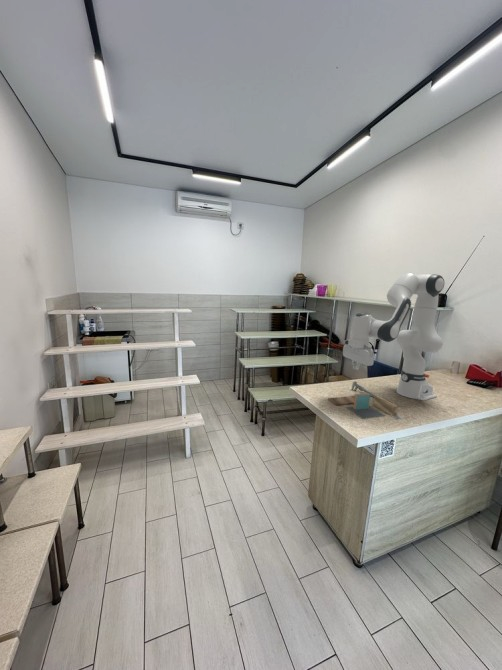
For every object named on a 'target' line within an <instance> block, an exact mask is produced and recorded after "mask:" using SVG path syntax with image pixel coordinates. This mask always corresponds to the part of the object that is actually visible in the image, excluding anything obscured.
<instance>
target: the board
mask: <svg viewBox="0 0 502 670" xmlns="http://www.w3.org/2000/svg"><path fill="white" fill-rule="evenodd" d="M354 399H355V395H348V396H337V397H335V396H334V397H328V398H327V400H328V401H329V402H330V403H332V404H333V405H335V407H338V406H347V405H354Z"/></svg>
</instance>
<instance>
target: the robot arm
mask: <svg viewBox="0 0 502 670" xmlns="http://www.w3.org/2000/svg"><path fill="white" fill-rule="evenodd" d="M444 287H445V279H444V278H443V276H442V275H440V274H436V273H435V274H431V273H430V274H427V273H422V274H421V273H420V274H415V273H411V272H407V273H404V274H403V275H401V276H400V277H399V278H397V280H395V282H394V283H393V284H392V286H391V287H390V289H389V290H388V292H387V294H386V299H387V302H388V303H389V304H390V305H391V306H392V307H394V308H395V310H394V312H393V314H392V316H391V318H390V319H389V320H379V319H376V318H374V317H373V316H372V315H371V313H369V312H358V313H356V314H355V315H354V317H353V320H352V326H351V336H350V338H349V339H344V341H343V344H344V345H343V347H342V355H343V357H344V358H346V359H349V360H351V364H352V369H354V370H356V371H359V370H360V367H361V366H362V365H364V366H367V367H369V366H370V367H371V366H373V365H374V362H375V360H374V359H375V353H374V349H373V348H372V347H371V346H369V342H370V338H372V339H376V340H380V341H384V342H385V343H389V342H390V343H391V342H392V341H394V340H395V339H396V342H397V344H398V345H399V346H400V348H401V350H402V354H403V362H402V363H403V365H402V369H401V371H400V377H399V380H398V384H397V386H396V388H395V389H396V391H395V392H396V393H397V394H398V395H400V396H403V397H405V398H410V399H414V400H418V401H427V400H431V399H434V398H437V397H438V395H437V394H436V393H435V392H434V391H433V390H434V387H433V385H432V384H430V383H429V381H427V380H426V378H428V379H429V378H430V375H429V374H428V373H425V370H426V365H427V362H426V359H425V358H424V357H423V356H422V355H421V352H424V353H434V354H435V353H438V352H439V351H440V350H441V349H442V348H443V342H444V341H443V339H442V337H441V336H439V334H438V332H437V329H436V324H435V323H436V316H437V311H438V307H439V294H440V293H441V292H442V290H443V289H444ZM413 295H417V298H416V300H415V303H414V307H413V311H412V317H411V320H412V323H414V324H415V326H416V329H417V330H414V329H402V330H401V327H402V326H403V323H404V321H405V319H406V317H407V316H408V313H409V312H410V310H411V307H412V300H411V298H412V296H413ZM420 351H421V352H420Z"/></svg>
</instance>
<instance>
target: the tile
mask: <svg viewBox="0 0 502 670" xmlns="http://www.w3.org/2000/svg"><path fill="white" fill-rule="evenodd" d="M354 396H355V399H354V404H353V406H352V407H353V409H355V410H360V409H368V407H369V406H370V399H371V395H370V394H369V393H366V392H362V393H355V394H354Z"/></svg>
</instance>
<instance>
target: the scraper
mask: <svg viewBox="0 0 502 670" xmlns="http://www.w3.org/2000/svg"><path fill="white" fill-rule="evenodd" d="M373 401H374V403H373V405H374V406H375V407H377V408H379V409H380V410H382V411H383V412H385V413H386V414H388V415H389V417H392V418H393V419H395V420H404V419H405V417H403V416H402V415H400V414H398V407H399V406H398V405H396V404H394V403H392V402H390V401H389V400H387V399H385V398H383V397H381V396H378V397H375V398H374V400H373Z"/></svg>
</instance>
